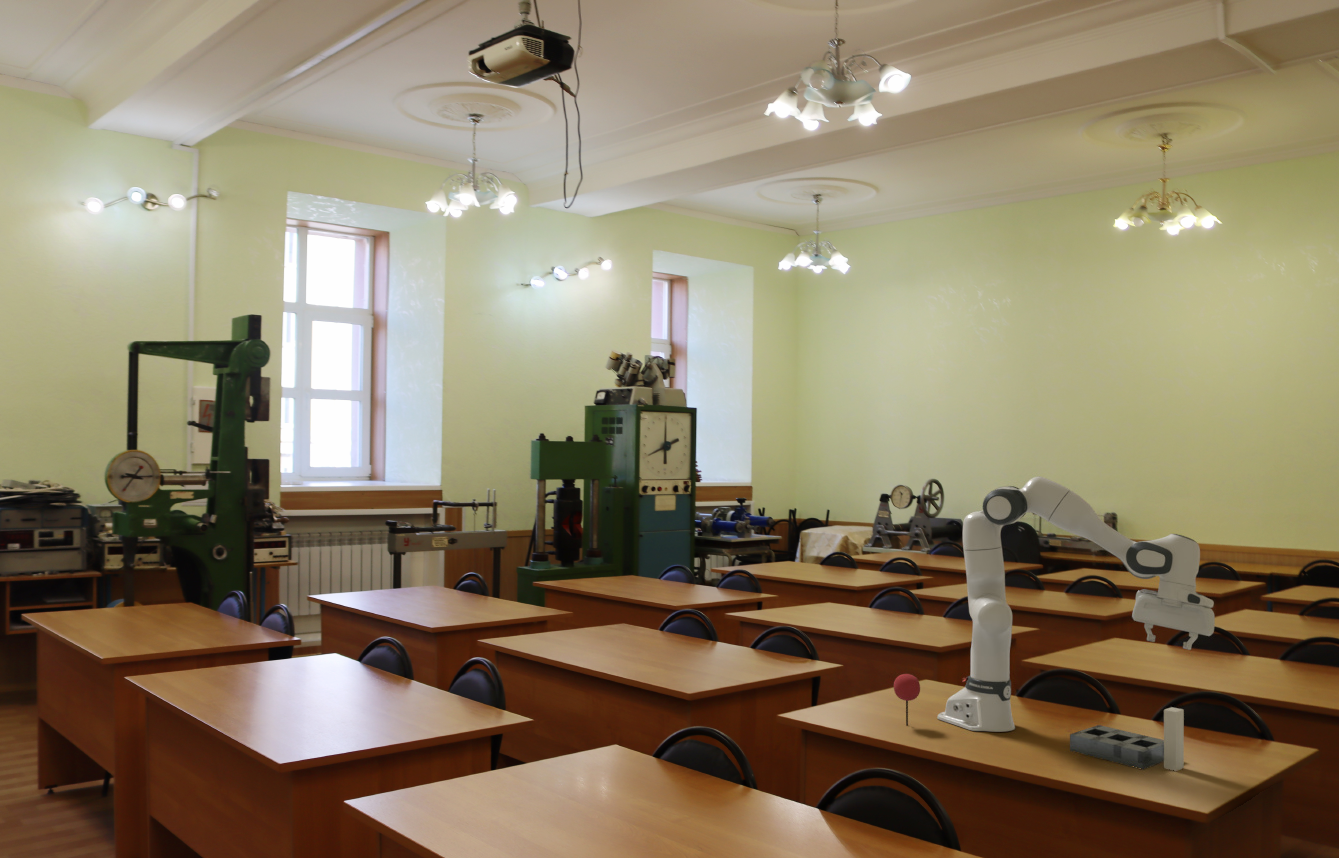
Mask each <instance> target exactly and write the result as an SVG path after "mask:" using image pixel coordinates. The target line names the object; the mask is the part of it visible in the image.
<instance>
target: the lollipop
mask: <svg viewBox="0 0 1339 858" xmlns="http://www.w3.org/2000/svg"><path fill="white" fill-rule="evenodd" d="M893 691H894V694H895V696H896V697H897V698H898V699H900V700H903V701H905V723H906V724H905V725H906V726H909V702H911V701H913V700H915V699H917V697H919V695H920V692H921V684H920V682H919V680H918V678H917V677H916V676H914V675H913V674H910V673H903V674H900V675H898V676H897V677H896V678H895V679H894V682H893Z"/></svg>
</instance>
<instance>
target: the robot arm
mask: <svg viewBox="0 0 1339 858" xmlns="http://www.w3.org/2000/svg"><path fill="white" fill-rule="evenodd" d="M1028 513H1029V514H1030V513H1031V514H1034V515H1037V516H1039V517H1040V518H1042V519H1044V521H1046V522H1048V523H1049V524H1051V525H1053V526H1055V527H1057V528H1058V529H1061V530H1063V531H1065V532H1067V533H1070V534H1073V535H1075V536H1078V537H1081V538H1084V539H1086V540H1089V541H1091V542H1092V543H1094V544H1096V545H1097V546H1099V547H1101V548H1102V549H1104V551H1107V552H1108V553H1110V554H1112V555H1113V556H1114V557H1116V558H1117V559H1118V560H1120V561H1121V563H1122V564H1123V565H1124V567H1125V568H1126V570H1127V572H1129V574H1131V575H1132V576H1134V577H1135V578H1137V579H1141V580H1149V579H1153V578H1155V577H1159V582H1158V590H1150V589H1147V588H1144V589H1143V588H1142V589H1141V590H1138V591H1137V592H1136V594H1135V603H1134V607H1133V610H1132V615H1131V618H1132V619H1133V621H1134V622H1135V621H1136V622H1139V623H1144V626H1143V627H1144V629H1145V633H1146V634H1147V637H1146V641H1147V642H1152V643H1155V641H1156V635H1154V634H1153V632H1152V629H1153V628H1154V626H1158V627H1164V628H1168V629H1173V630H1178V631H1183V632H1188V637H1190V638H1189V639H1188V640H1187V641H1183V645H1182V649H1183V650H1184V649H1185V650H1189V651H1190V650H1192V645H1193V644H1194V642H1195V641H1196V640H1197V639H1198V637H1199V635H1202V636H1206V637H1207V636H1208V637H1210V636H1212V635H1213V634H1214V631H1215V621H1216V619H1215V613H1214V611H1213V609H1212V608H1214V604H1215V603H1214V600H1213V599H1210V598H1208V597H1206V596H1205V595H1203V594H1200V593H1198V592H1196V589H1197V584H1196V582H1197V581H1196V578H1197V575H1198V573H1199V569H1200V560H1201V550H1200V544H1199V543H1198V542H1197V541H1196V540H1194V539H1192V538H1190V537H1188V536H1185V535H1182V534H1178V533H1170V534H1168V535H1167V536H1164V537H1160V538H1156V539H1152V540H1143V541H1136V540H1132V539H1131V538H1128V537H1127V536H1125V535H1124V534H1122V533H1120V532H1119V531H1117V530H1116V529H1115V528H1112V527H1111V526H1110V525H1108V524H1107V523H1105V522H1104V521H1103V520H1102V519H1101V518H1100V517H1099V515H1098V514H1097V513H1096V511H1095V509H1093V507H1092V506H1091V505H1090V503H1088V502H1087V501H1086V500H1085V499H1084V498H1083V497H1082V496H1080V495H1078V494H1077V493H1075V492H1074V491H1073V490H1071V489H1070V488H1067V487H1066V486H1064V485H1062V484H1060V483H1058V482H1055V481H1053V480H1051V479H1049V478H1047V477H1043V476H1034V477H1032V478H1030V479H1029V480H1028V481H1026V483H1025V484H1024V485H1023V487H1021V488H1020V487H1019V488H1018V486H1014V485H1013V486H1012V485H1007V486H1006V485H1005V486H1000V487H997V488H995V489H994V490H991V491H990V492H988V493H987V494H986V496H985V498H983V501H982V510H977V511H973V512H971V513H969V514H967V515H966V516H964V519H963V522H962V547H963V549H962V550H963V557H964V565H965V574H966V588H967V589H966V590H967V600H968V613H969V615H970V618H971V620H972V632H971V633H972V635H971V647H970V675H968V676H966V677H963V678H962V683H965V682H966V684H965V685H964V687H963V688H961V689H959V691H957V692H956V693H954V694H953V695H950V696H949V697H948V699H947V700H946V703H945V710H944V711H942V712H940V713H938V714H937V719H938V720H940V721H943V722H945V723H949V724H952V725H955V726H957V727H961V728H963V729H966V730H969V731H974V732H996V733H998V732H999V733H1000V732H1002V733H1003V732H1011V731H1013V730H1015V729H1016V726H1015V723H1014V718H1013V714H1012V707H1011V696H1012V681H1011V679H1010V650H1011V645H1012V644H1011V643H1012V633H1013V630H1012V629H1013V612H1012V609H1011V607H1010V605H1009V604H1008V603H1007V599H1006V598H1007V597H1006V578H1005V577H1006V572H1005V563H1004V556H1003V555H1004V554H1003V546H1002V538H1001V531H1002V528H1003V527H1004V526H1007V525H1011V524H1015V523H1016V522H1019V520H1021V519H1023V517H1024V516H1025V515H1026V514H1028Z"/></svg>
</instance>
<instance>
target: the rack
mask: <svg viewBox="0 0 1339 858" xmlns="http://www.w3.org/2000/svg"><path fill="white" fill-rule="evenodd" d="M1069 751H1070V752H1073V751H1075V752H1074V753H1076V752H1079V753H1078V754H1080V753H1082V754H1081V755H1084V754H1085V756H1088V755H1090V756H1089V757H1092V756H1094V757H1093V758H1096V757H1097V759H1100V758H1102V759H1101V760H1104V759H1106V760H1105V761H1107V760H1109V761H1108V762H1111V761H1113V762H1112V763H1115V762H1118V763H1117V764H1119V763H1122V764H1121V765H1123V764H1124V765H1123V766H1127V765H1128V767H1131V766H1134V767H1133V768H1135V767H1137V768H1136V769H1138V768H1141V769H1140V770H1142V769H1143V770H1145V768H1146V769H1148V768H1150V766H1151V767H1153V766H1156V765H1158V764H1161V763H1164V739H1161V738H1158V737H1153V736H1149V735H1143V734H1140V733H1135V732H1131V731H1127V730H1122V729H1118V728H1115V727H1114V728H1113V727H1109V726H1105V725H1100V724H1097V725H1095V726H1094V725H1093V726H1091V727H1088V728H1085V729H1082V730H1078V731H1076V732H1072V733H1070V734H1069ZM1160 762H1161V763H1160ZM1155 764H1156V765H1155ZM1147 767H1148V768H1147Z"/></svg>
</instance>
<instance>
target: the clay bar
mask: <svg viewBox="0 0 1339 858" xmlns="http://www.w3.org/2000/svg"><path fill="white" fill-rule="evenodd" d="M1184 710H1185V709H1183V708H1177V707H1172V706H1170V707H1168V708H1165V709H1164V710H1163V740H1164V761H1163V769H1165V768H1166V769H1165V770H1169V769H1170V770H1169V771H1173V770H1174V771H1173V772H1177V770H1178V771H1180V770H1182V768H1183V769H1184V768H1185V767H1184V763H1185V761H1184V760H1185V758H1184V757H1185V756H1184V754H1185V753H1184V751H1185V750H1184V746H1185V744H1184V742H1185V741H1184V740H1185V738H1184V735H1185V734H1184V732H1185V730H1184V729H1185V726H1184V720H1185V718H1184V716H1185V715H1184V714H1185V713H1184V712H1185V711H1184Z"/></svg>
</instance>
